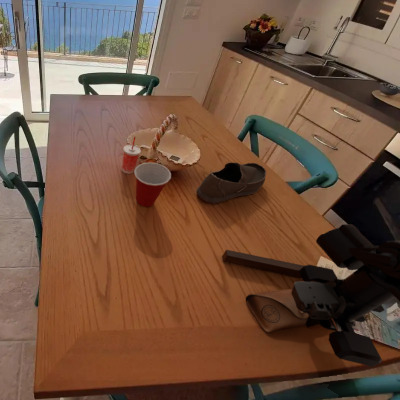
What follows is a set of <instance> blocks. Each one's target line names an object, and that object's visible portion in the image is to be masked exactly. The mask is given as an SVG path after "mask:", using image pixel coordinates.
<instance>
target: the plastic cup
mask: <svg viewBox="0 0 400 400" xmlns="http://www.w3.org/2000/svg"><path fill="white" fill-rule="evenodd" d="M133 174H134V176H135V181H136V183H135V184H136V185H135V193H136V195H135V202H136V203H137V204H138V205H139V206H141V207H143V208H144V207H145V208H150V207H152V206H153V205H154V204H155V202H156V201H157V199H158V198H159V196H160V194H161V193H162V191H163V189H164V188H165V186H166V184H167V183H168V182H169V181H170V180H171V178H172V173H171V171H170V170H169V168H167V167H166V166H164V164H160V163H157V162H149V161H148V162H143V163H141V164H138V165H137V166H135V169H134V172H133Z"/></svg>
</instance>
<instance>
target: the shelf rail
mask: <svg viewBox="0 0 400 400" xmlns="http://www.w3.org/2000/svg"><path fill="white" fill-rule="evenodd" d="M221 259H222V263H225V264H231V265H235V266H240V267H244V268H249V269H254V270H259V271H264V272H268V273H272V274H277V275H283V276H286V277H291V278H297V279H299V280H302V278H301V275H300V273H299V270H300V269H301V268H302V267H304V266H305V265H303V264H298V263H293V262H289V261H283V260H280V259H274V258H269V257H264V256H260V255H255V254H250V253H245V252H241V251H236V250H231V249H226V250H225V251H224V252H223V253H222V255H221ZM311 282H317V281H313V280H312V281H311Z"/></svg>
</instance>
